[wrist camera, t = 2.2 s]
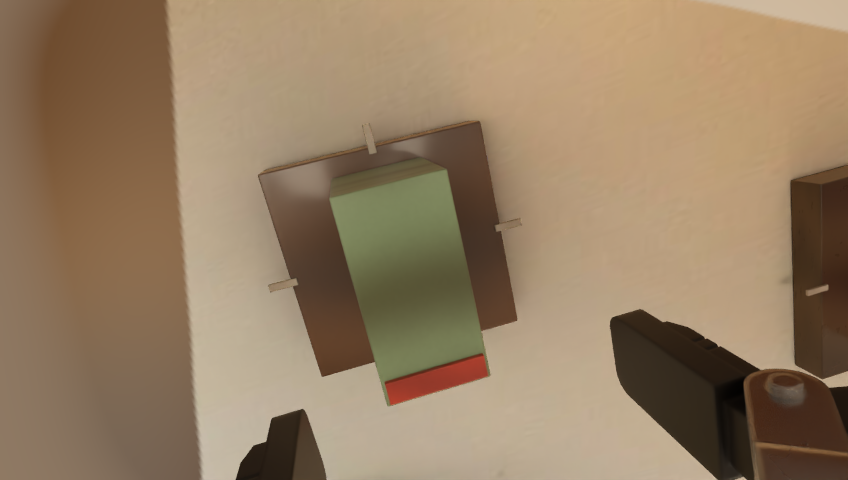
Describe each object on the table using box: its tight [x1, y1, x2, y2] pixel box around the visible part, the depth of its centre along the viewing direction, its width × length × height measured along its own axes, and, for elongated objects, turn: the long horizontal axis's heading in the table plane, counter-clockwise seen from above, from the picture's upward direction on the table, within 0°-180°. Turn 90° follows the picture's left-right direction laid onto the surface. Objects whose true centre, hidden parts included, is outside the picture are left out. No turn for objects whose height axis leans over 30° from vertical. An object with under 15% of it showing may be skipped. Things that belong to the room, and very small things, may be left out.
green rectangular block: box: [329, 157, 490, 406], centre depth 22 cm, size 9×4×6 cm, turn 13°
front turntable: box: [258, 121, 522, 377], centre depth 26 cm, size 13×13×2 cm
